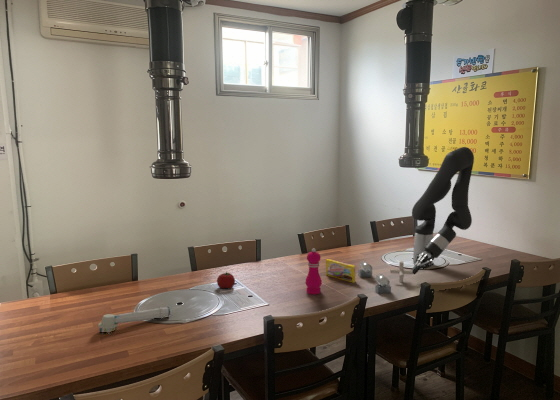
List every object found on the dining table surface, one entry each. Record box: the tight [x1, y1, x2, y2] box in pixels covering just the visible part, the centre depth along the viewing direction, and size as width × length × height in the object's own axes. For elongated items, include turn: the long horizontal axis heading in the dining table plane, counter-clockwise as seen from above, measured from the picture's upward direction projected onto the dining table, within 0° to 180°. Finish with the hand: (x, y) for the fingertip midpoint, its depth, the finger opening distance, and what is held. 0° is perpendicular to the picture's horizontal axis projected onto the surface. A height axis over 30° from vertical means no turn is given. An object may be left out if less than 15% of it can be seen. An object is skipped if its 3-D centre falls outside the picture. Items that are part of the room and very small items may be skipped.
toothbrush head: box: [97, 306, 171, 333], centre depth 151 cm, size 5×7×25 cm
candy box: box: [325, 258, 356, 284], centre depth 196 cm, size 16×2×8 cm, turn 47°
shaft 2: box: [374, 273, 392, 295], centre depth 180 cm, size 6×6×7 cm
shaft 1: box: [357, 260, 373, 279], centre depth 198 cm, size 6×6×7 cm
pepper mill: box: [304, 248, 323, 295], centre depth 179 cm, size 7×7×20 cm
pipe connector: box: [389, 260, 414, 283], centre depth 190 cm, size 10×10×10 cm
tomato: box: [216, 271, 236, 289], centre depth 186 cm, size 8×8×7 cm
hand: (412, 272), depth 191 cm, fingers closed
